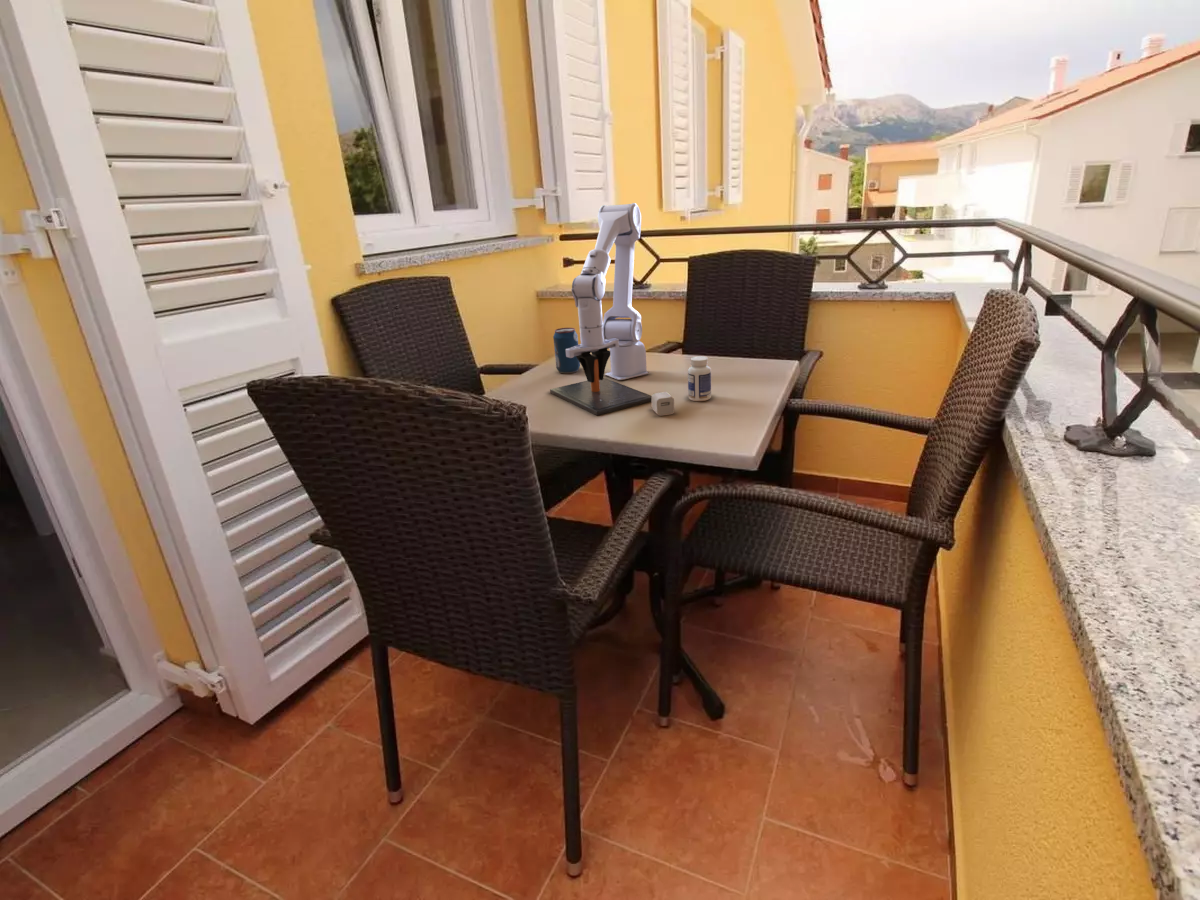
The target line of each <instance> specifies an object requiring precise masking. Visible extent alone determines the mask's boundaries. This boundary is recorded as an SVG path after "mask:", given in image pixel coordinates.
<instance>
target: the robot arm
mask: <svg viewBox="0 0 1200 900" xmlns="http://www.w3.org/2000/svg"><path fill="white" fill-rule="evenodd" d="M597 223H598V224H597V225H598V227H599V231H598V234H597V238H596V242H595V246H594V248H593V249H591V250H589V251H588V253H587V255H586V257H585V261H584V264H583V266H582V269H581V270H580V274H578V275H577V276H576V277H574V278H573V280H572V282H571V283H572V284H571V295H572V297H573V299H574V305H575V308H577V314H578V325H579V327H578V328H579V339H580V343H578V345H577V346H574V347H571V348H568V349H566V357H569V358H573V357H574V356H576V357H577V359H578V360H579V362H580V366H581V368H582V369H583V373H584V375H585V377H586V381H588V382H591V383H592V382H594V362H595V356H592V355H598V363H599V380H603V377H604V376H607V377H609V378H612V379H615V380H618V381H623V380H628V379H632V378H636V377H637V378H638V377H641V376H645V375H649V371H648V370H647V367H648V366H647V350H646V346H645V344H644V343H643V341H641V339H642V335H643V325H642V315H641V313H640V312H639V311H638V310H636V309H635V308H634V307H633V306H632V303H633V302H632V301H633V285H634V284H633V283H634V264H635V261H634V260H635V247H636V242H637V241H638V240H640V239H641V232H642V231H641V230H642V212H641V210H640V207H639V205H638V204H637V203H636V202H632V203H627V204H626V203H625V204H612V205H611V204H610V205H606V204H603V205H601V206H600V207H599V209H598V212H597ZM614 245H615V253H614V254H615V255H614V256H615V257H614V274H613V275H614V277H613V281H614V282H613V296H612V297H613V298H612V302H613V303H612V307H610V308H609V309H607V311H606V312H604V314H603V307H602V305H603V304H602V299H603V298H604V296H605V292H606V281H607V280H606V276H607V272H608V269H609V267H610V264H611V257H610V255H609V254H610V252H611V250H612V248H613V246H614ZM603 315H604V316H603ZM608 349H609V350H608ZM609 359H610V360H609ZM608 361H610V371H609V372H606V373H605V370H606V367H607V364H608Z"/></svg>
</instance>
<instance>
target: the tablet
mask: <svg viewBox="0 0 1200 900" xmlns="http://www.w3.org/2000/svg"><path fill="white" fill-rule="evenodd" d="M599 381H600V391H598V392H592V391H591V382H588V381H587V380H584V381H580V382H575V383H571V384H567V385H563V386H558V387H553V388H550V389H549V393H550V394H552V395H554V396H556V397H558V398H560V399H562V400H564V401H566V402H568V403H570V404H572V405H574V406H576V407H579V408H580V409H583V410H585V411H587V412H589V413H591V414H592V415H595V416H600V415H605V414H609V413H612V412H617V411H619V410H620V411H621V410H623V409H628V408H632V407H635V406H639V405H643V404H645V403H650V402H651V403H652V401H651V396H652V394H648V393H646V392H643V391H640V390H638V389H634V388H633V387H630V386H627V385H625V384H622V383H619V382H617V381H614V380H612V379H609V378H606V377H604V376H603V380H599Z"/></svg>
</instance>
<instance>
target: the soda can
mask: <svg viewBox="0 0 1200 900" xmlns="http://www.w3.org/2000/svg"><path fill="white" fill-rule="evenodd" d="M552 338H553V339H552V340H553V348H554V350H553V351H554V358H555V368H556V370H557V371H558V373H560V374H573V373H576V372H578V371H579V369H580V368H581V364H580V362H579V360H578V359H577V357H576V356H574V357H573V358H569V357H566V349H568V348H571V347H574V346H577V345H579V336H578V333H577V332H576V328H575V327H561V328H556V329H555V330H554V333H553V336H552Z"/></svg>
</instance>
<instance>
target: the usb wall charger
mask: <svg viewBox="0 0 1200 900" xmlns="http://www.w3.org/2000/svg"><path fill="white" fill-rule="evenodd" d="M651 409H652V411H654V413H656V415H657V416H659V417H661V416H668V415H673V414H674V413H675V398H674V397H673V396H672V395H670V394H669V393H668V392H667V391H661V392H660V391H659V392H654V393H652V394H651Z"/></svg>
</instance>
